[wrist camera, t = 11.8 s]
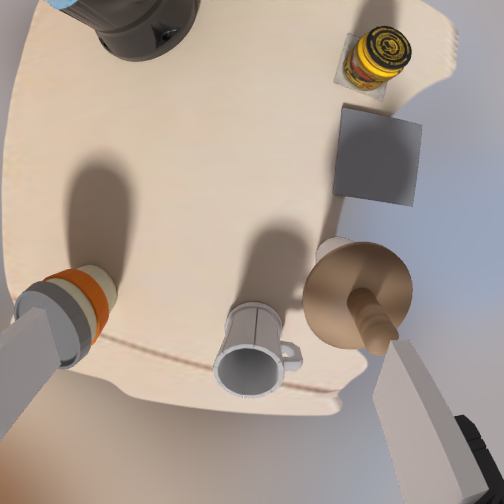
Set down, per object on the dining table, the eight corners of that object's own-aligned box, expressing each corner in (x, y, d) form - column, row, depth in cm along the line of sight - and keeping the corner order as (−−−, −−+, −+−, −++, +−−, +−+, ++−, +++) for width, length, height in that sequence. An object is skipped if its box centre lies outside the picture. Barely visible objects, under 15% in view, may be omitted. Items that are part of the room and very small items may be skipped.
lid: (310, 236, 31) (324, 266, 23) (418, 247, 31) (460, 277, 22) (295, 341, 35) (300, 393, 26) (393, 344, 34) (419, 391, 26)
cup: (277, 286, 47) (278, 327, 36) (301, 334, 49) (308, 382, 38) (215, 313, 49) (199, 358, 38) (242, 357, 51) (235, 407, 40)
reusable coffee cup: (54, 270, 49) (0, 304, 35) (102, 242, 47) (47, 275, 33) (88, 330, 52) (45, 376, 38) (139, 310, 50) (99, 361, 36)
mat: (341, 108, 39) (342, 107, 38) (419, 125, 39) (422, 125, 38) (332, 193, 43) (333, 194, 42) (410, 205, 42) (412, 206, 42)
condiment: (333, 82, 38) (354, 58, 27) (347, 33, 36) (370, -2, 24) (381, 102, 39) (416, 86, 27) (394, 52, 36) (428, 26, 25)
